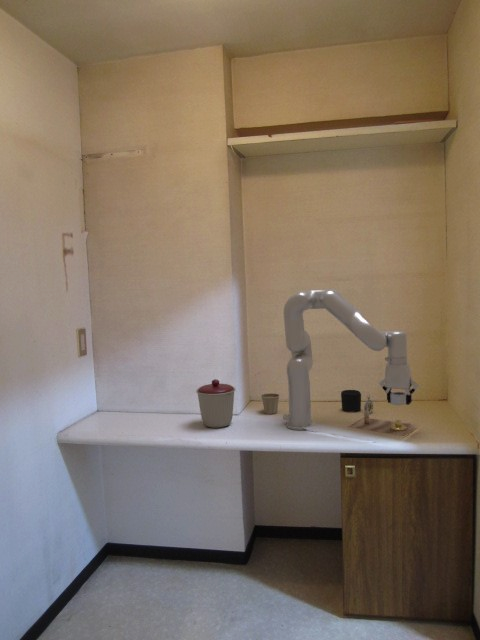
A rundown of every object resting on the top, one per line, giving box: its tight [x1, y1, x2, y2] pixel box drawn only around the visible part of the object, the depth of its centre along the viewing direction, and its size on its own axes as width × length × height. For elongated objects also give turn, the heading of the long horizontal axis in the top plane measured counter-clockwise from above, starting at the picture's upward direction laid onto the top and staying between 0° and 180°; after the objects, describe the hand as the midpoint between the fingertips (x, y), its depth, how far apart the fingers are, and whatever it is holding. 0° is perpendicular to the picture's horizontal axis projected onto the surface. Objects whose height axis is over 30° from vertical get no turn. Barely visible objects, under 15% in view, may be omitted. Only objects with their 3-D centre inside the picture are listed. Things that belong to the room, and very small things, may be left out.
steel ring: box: [389, 391, 408, 406], centre depth 203 cm, size 7×7×4 cm
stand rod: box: [363, 410, 370, 424], centre depth 212 cm, size 2×2×5 cm
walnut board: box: [347, 416, 417, 437], centre depth 208 cm, size 24×16×1 cm, turn 52°
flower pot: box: [260, 392, 281, 415], centre depth 241 cm, size 9×9×9 cm
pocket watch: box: [363, 394, 374, 415], centre depth 226 cm, size 8×8×10 cm
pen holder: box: [340, 389, 362, 413], centre depth 235 cm, size 9×9×10 cm
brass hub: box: [390, 419, 407, 431], centre depth 204 cm, size 7×7×3 cm
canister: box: [195, 378, 236, 429], centre depth 224 cm, size 18×18×21 cm
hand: (399, 402), depth 203 cm, fingers closed on steel ring, 7 cm apart
